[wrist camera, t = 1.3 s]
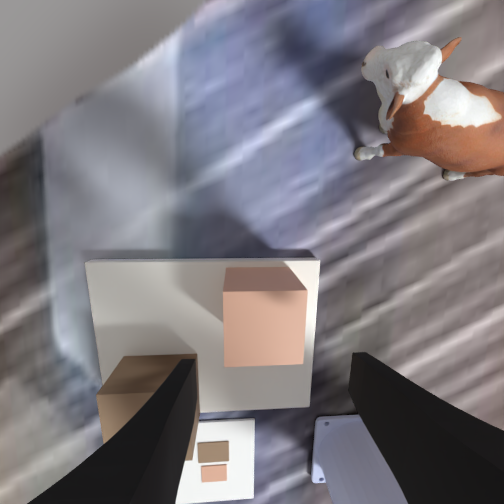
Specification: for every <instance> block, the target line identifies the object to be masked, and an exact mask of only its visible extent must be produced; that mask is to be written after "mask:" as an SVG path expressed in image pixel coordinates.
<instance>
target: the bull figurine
mask: <svg viewBox="0 0 504 504" xmlns="http://www.w3.org/2000/svg"><path fill="white" fill-rule="evenodd" d="M460 41H461V37H458V38H456V39H453V40H452V41H451V42H449V43H448V44H447V45H446V46H445V47H443V48H442V49H439V48H438V47H436V46H432V45H430V44H429V43H428V42H424V41H412V42H408V43H405V44H403V45H401V46H399V47H397V48H391V49H385V48H384V47H383V46H376V47H375V48H373V49H372V50H371V51H370V52H369V53H368V54H367V56H366V57H365V59H364V61H363V63H362V67H361V72H362V75H363V77H364V78H365V79H366V80H368V81H372V82H373V83H374V84H375V86H376V89H377V93H378V95H379V98H380V100H381V102H382V105H381V107H380V110H379V115H378V117H379V121H380V125H379V129H380V131H381V132H382V133H388V138H389V140H390V141H391V143H389V144H388V143H384V144H381V145H379V146H378V147H375V148H374V147H359V148H357V149H356V150H355V153H354V156H355V158H356V159H357V160H364V159H368V160H370V159H371V158H372V157H373V156H375V155H377V156H381V157H385V156H401V155H410V156H418V157H424V158H425V159H427V160H430V161H431V162H433V163H434V164H436V165H438V166H439V167H442V168H444V169H447V170H445V171H444V175H443V178H444V179H445V180H447V181H452V180H455V179H463V178H465V177H470V176H474V177H480V176H484V175H494V174H495V175H499V176H504V93H503V92H500V91H497V90H492V89H487V88H485V87H484V86H482V85H479V84H475V83H471V82H462V81H456V80H454V79H449V78H446V77H443V76H440V75H439V74H438V68H439V66H440V65H441V63H443V62H444V61H445V60H446V59H447V58H448V57H449V56H450V54H451V53H452V51H453V50H454V48H455V47H456V46H457V45H458V44H459V42H460Z"/></svg>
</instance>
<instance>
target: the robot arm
mask: <svg viewBox="0 0 504 504" xmlns="http://www.w3.org/2000/svg"><path fill="white" fill-rule="evenodd" d="M348 391H349V393H350V396H351V398H352V400H353V403H354V405H355V407H356V409H357V412H358V414H359V415H342V416H324V417H318V418H317V419H316V421H315V433H314V446H313V458H312V470H311V479H312V481H313V482H314V483H325V482H326V484H327V487H328V490H329V493H330V497H331V500H332V503H333V504H504V431H503V430H501V429H499V428H497V427H494V426H492V425H490V424H488V423H486V422H484V421H482V420H480V419H478V418H476V417H474V416H472V415H470V414H468V413H466V412H464V411H462V410H460V409H458V408H456V407H454V406H453V405H451V404H449V403H447V402H445V401H444V400H442V399H440V398H438V397H437V396H435V395H433V394H432V393H430V392H428V391H426V390H425V389H423V388H421V387H420V386H418V385H417V384H415V383H413V382H412V381H410V380H409V379H407V378H405V377H404V376H402V375H401V374H399V373H398V372H396V371H395V370H393V369H391V368H390V367H388V366H387V365H385V364H384V363H382V362H381V361H379V360H377V359H376V358H374V357H373V356H371V355H369V354H368V353H366V352H359V353H353V354H352V363H351V371H350V380H349V389H348ZM196 404H197V379H196V359H181V360H180V361H179V362H178V364H177V365H176V366H175V368H174V369H173V370H172V372H171V373H170V374H169V376H168V377H167V378H166V379H165V381H164V382H163V383H162V384H161V385H160V387H159V388H158V389H157V390H156V391H155V393H154V394H153V395H152V396H151V397H150V398H149V400H148V401H147V402H146V403H145V404H144V405H143V406H142V407H141V408H140V409H139V410H138V412H137V413H136V414H135V415H134V416H133V417H132V418H131V419H130V420H129V421H128V422H127V423H126V424H125V425H124V426H123V427H122V428H121V429H120V430H119V431H118V432H117V433H116V434H115V435H113V436H112V437H111V438H110V439H109V440H108V441H107V442H106V443H105V444H103V445H102V446H101V447H100V448H99V449H98V450H96V451H95V452H94V453H93V454H92V455H91V456H89V457H88V458H87V459H86V460H85V461H83V462H82V463H81V464H80V465H79V466H77V467H76V468H75V469H73V470H72V471H71V472H70V473H68V474H67V475H66V476H64V477H63V478H62V479H61V480H59V481H58V482H56V483H55V484H54V485H52V486H51V487H50V488H48V489H47V490H46V491H44V492H43V493H42V494H40V495H39V496H37V497H36V498H35V499H33V500H32V501H30V502H29V503H27V504H175V502H176V497H177V492H178V488H179V483H180V479H181V475H182V471H183V467H184V463H185V459H186V454H187V450H188V446H189V442H190V438H191V434H192V429H193V425H194V419H195V412H196Z"/></svg>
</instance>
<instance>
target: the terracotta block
mask: <svg viewBox="0 0 504 504" xmlns="http://www.w3.org/2000/svg"><path fill="white" fill-rule="evenodd" d="M307 296H308V290H307V289H306V287H305V286H304V285H303V284H302V282H301V281H300V280H299V279H298V277H297V276H296V275H295V274H294V272H293V271H292V270H291V269H290V267H236V268H226V272H225V279H224V287H223V326H224V367H245V366H270V365H295V364H303V358H304V342H305V327H306V311H307Z"/></svg>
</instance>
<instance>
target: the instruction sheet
mask: <svg viewBox="0 0 504 504" xmlns="http://www.w3.org/2000/svg"><path fill="white" fill-rule="evenodd" d="M254 431H255V418H247V419H229V420H211V421H199V422H198V429H197V435H196V441H195V447H194V453H193V459H192V460H190V461H185V463H184V467H183V471H182V475H181V479H180V483H179V488H178V492H177V497H176V504H186V503H199V502H212V501H224V500H237V499H250V498H254Z"/></svg>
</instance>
